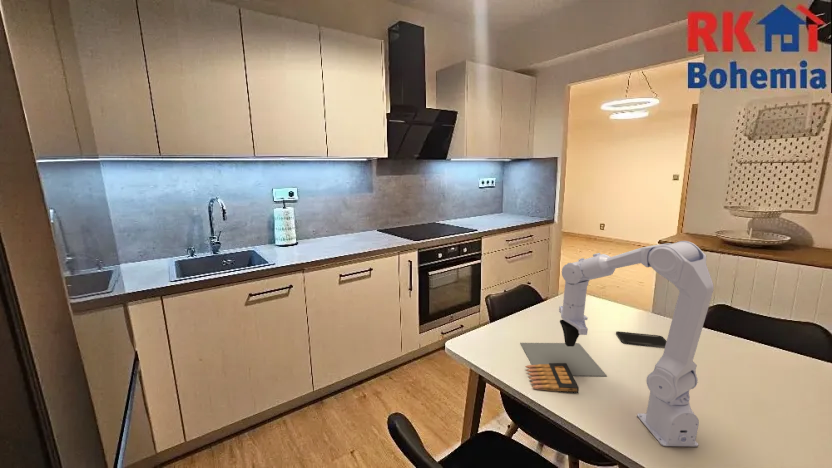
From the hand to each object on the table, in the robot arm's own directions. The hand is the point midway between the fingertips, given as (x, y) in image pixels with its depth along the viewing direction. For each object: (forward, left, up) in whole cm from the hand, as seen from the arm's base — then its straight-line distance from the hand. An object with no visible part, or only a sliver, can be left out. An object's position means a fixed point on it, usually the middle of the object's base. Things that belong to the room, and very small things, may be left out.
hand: (569, 345), depth 102 cm
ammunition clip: (-6, +1, -7) cm, 9 cm away
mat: (+5, 0, -8) cm, 10 cm away
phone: (+17, -33, -8) cm, 38 cm away
